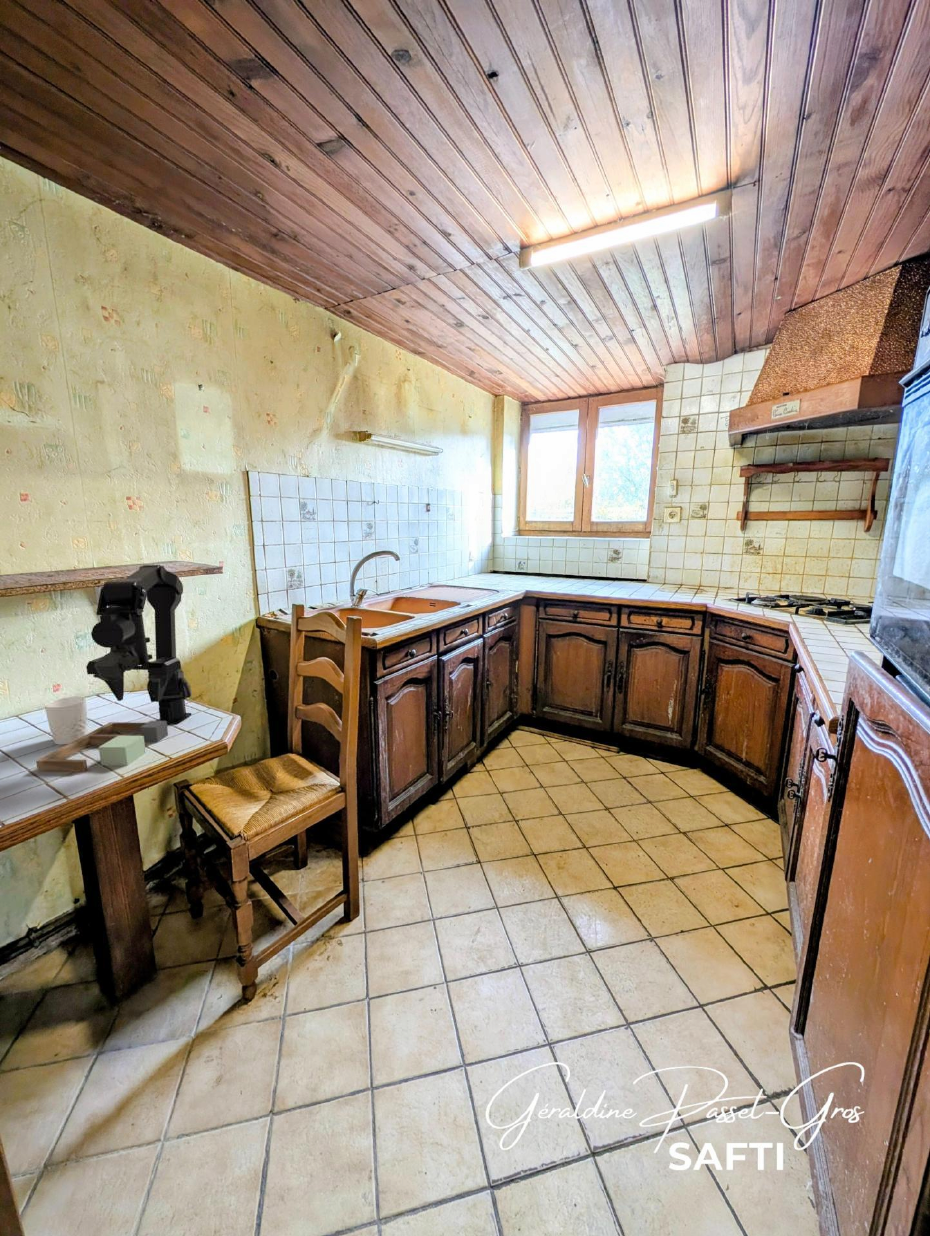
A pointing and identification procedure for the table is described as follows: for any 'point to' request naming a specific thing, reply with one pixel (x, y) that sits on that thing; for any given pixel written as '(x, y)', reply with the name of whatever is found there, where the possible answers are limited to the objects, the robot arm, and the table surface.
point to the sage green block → (122, 750)
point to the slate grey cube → (154, 731)
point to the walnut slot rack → (97, 737)
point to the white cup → (67, 719)
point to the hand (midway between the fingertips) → (139, 700)
